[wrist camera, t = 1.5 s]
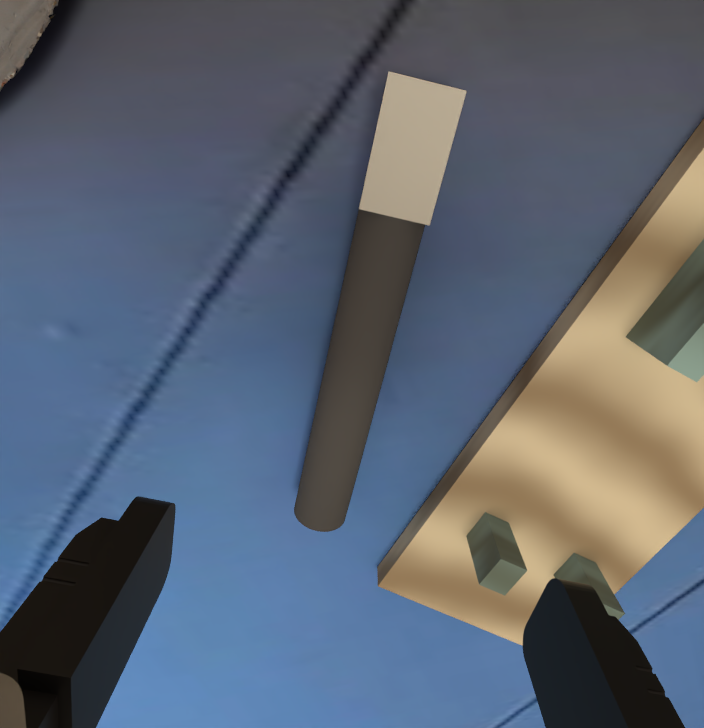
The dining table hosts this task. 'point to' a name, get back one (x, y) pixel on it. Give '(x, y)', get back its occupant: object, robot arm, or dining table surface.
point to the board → (581, 435)
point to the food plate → (21, 32)
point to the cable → (375, 286)
